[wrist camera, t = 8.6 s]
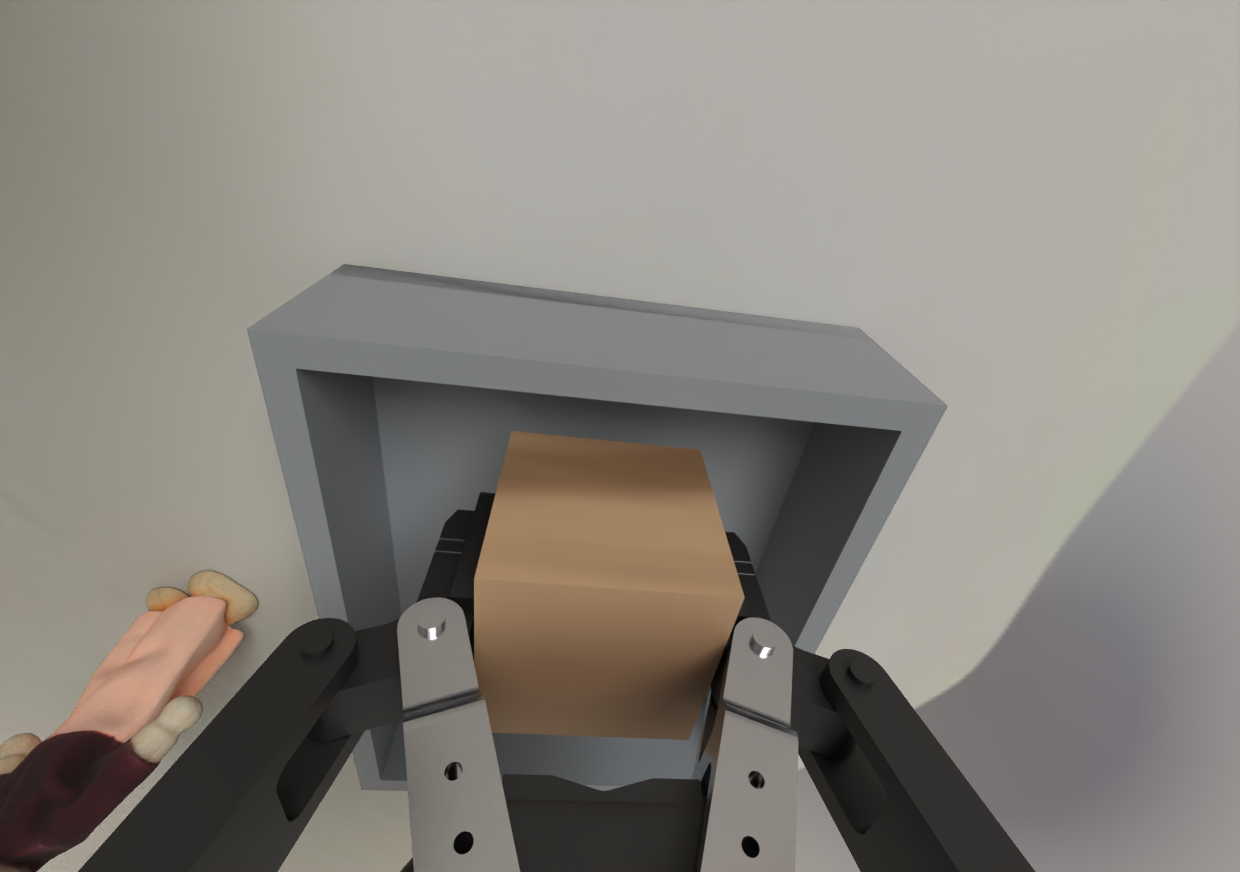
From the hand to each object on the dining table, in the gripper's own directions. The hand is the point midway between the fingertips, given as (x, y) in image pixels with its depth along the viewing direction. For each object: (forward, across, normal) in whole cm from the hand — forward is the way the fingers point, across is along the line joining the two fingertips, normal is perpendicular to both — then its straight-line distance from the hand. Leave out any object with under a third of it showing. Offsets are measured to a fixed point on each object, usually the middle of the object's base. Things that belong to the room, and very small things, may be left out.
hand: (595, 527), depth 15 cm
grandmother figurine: (+5, +15, +10) cm, 19 cm away
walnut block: (+1, 0, 0) cm, 1 cm away
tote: (+5, 0, +5) cm, 7 cm away
